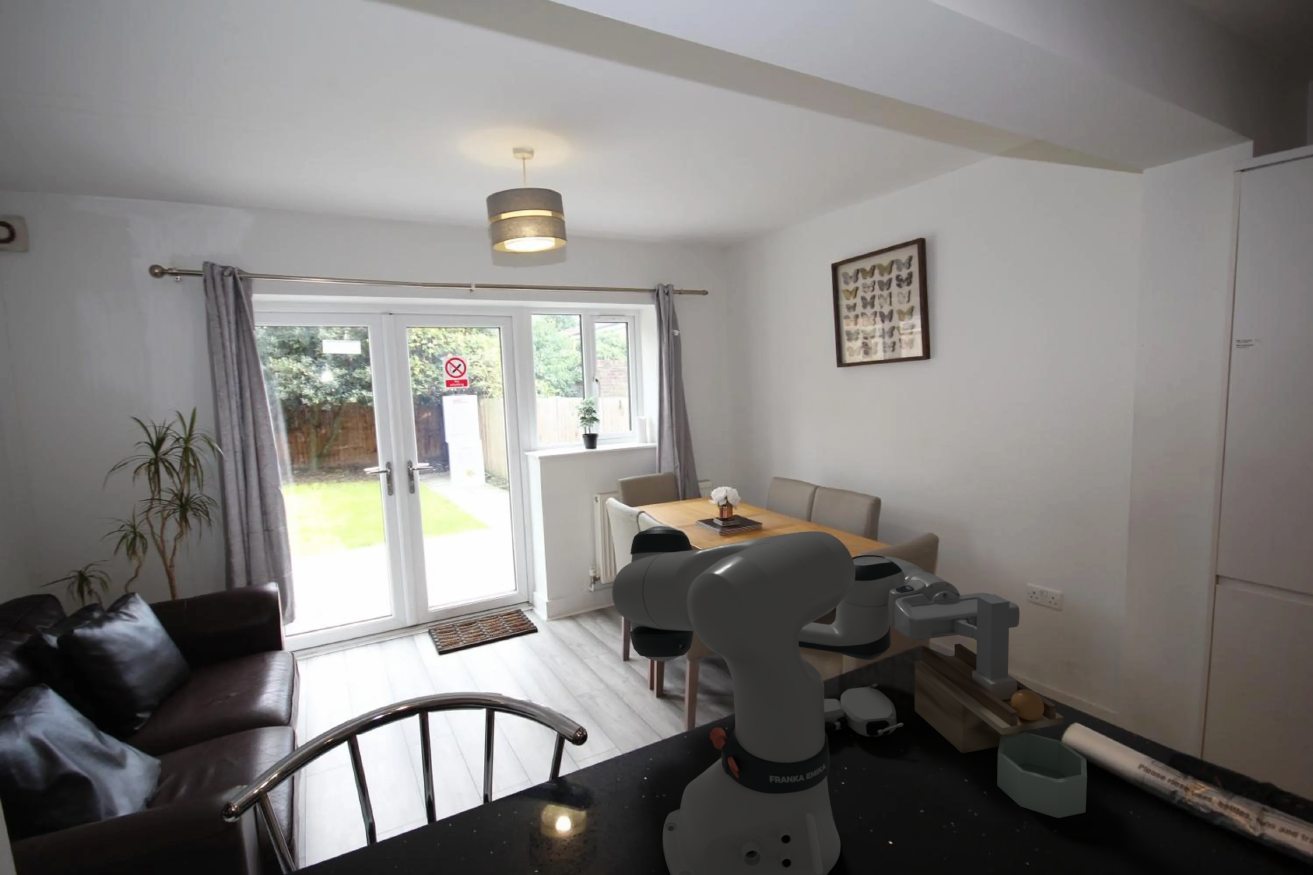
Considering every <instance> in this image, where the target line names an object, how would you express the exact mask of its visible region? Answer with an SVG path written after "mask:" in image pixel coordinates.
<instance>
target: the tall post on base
mask: <svg viewBox="0 0 1313 875" xmlns="http://www.w3.org/2000/svg"><path fill="white" fill-rule="evenodd" d="M1009 633H1010V628H1009V600H1008V601H1007V599H1006V598H1003V597H1002V596H999V595H997V594H995V593H993V594H992V595H985V596H978V597H977V640H976V654H977V659H976V671H972V680H973V681H974V682H976V683H977V684H979V685H980V686H982V687H983V688H984V689H986V690H987V691H989V692H990V693H991V694H993V695H994V696H996V697H997V698H998V699H1000V700H1006V699H1011V698H1012V696H1013V694H1014V693H1015V692H1017V681H1018V679H1016V678H1015V677H1014V676H1012V675H1010V674H1009V652H1010V651H1009V649H1010V648H1009V645H1010V644H1009V641H1010V640H1009V639H1010V638H1009V637H1010V634H1009Z"/></svg>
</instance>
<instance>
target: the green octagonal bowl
mask: <svg viewBox="0 0 1313 875" xmlns="http://www.w3.org/2000/svg"><path fill="white" fill-rule="evenodd" d="M997 749H998V750H997V779H996V780H997V781H996V782H997V784H996V785H997V787H998V788H999V789H1001V790H1002V791H1003V792H1004V793H1005V795H1007V796H1009V798H1011V799H1012V800H1013V801H1014V803H1016V804H1017V805H1019V806H1020V807H1022V808H1025V809H1028V810H1031V811H1035V812H1037V813H1041V814H1043V815H1047V816H1050V817H1053V818H1057V819H1061V818H1065V817H1066V818H1067V817H1070V816H1075V815H1080V814H1084V813H1087V812H1086V811H1087V809H1086V806H1087V782H1088V776H1087V775H1088V773H1087V772H1088V771H1087V758H1085V757H1084V756H1082V755H1081V754H1080V753H1078V752H1076V751H1075V750H1074V749H1073V748H1071V747H1070V746H1068V745H1067V744H1066V743H1064V742H1063V741H1061V740H1059V739H1055V738H1050V737H1047V736H1046V737H1045V736H1042V735H1038V734H1035V733H1031V732H1028V731H1027V732H1026V731H1023V732H1019V733H1018V734H1013V735H1007V736H1002V737H1001V738H1000V743H999V747H998V748H997Z"/></svg>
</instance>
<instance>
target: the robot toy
mask: <svg viewBox="0 0 1313 875" xmlns="http://www.w3.org/2000/svg"><path fill="white" fill-rule="evenodd" d="M875 687H878V683H873V684H872V685H867V686H864V687H855V688H848V689H846V690H845V691H843V693H842V694H841V695H840V700H838V699H837V698H824V714H825V733H826V734H827V737H828V738H829V737H831V736H833V735H834V733H835V732H836V731H838V730H842V729H845V728H848V727H849V728H851V730H853V731H854V732H855V733H857V734H859V735H861V736H864V737H874V738H875V737H877V738H878V737H881V736H887V735H890V734H891V733H893V732H894V731H895V730H896V729H897V728H901V727H903V726H904V723H902V722H900V723H898V722H897V712H896V708H895V704H894V702H892V701H891V700H890V698H889V697H888V696H886V694H884V693H883V692H882V691H880V690H879V689H878V688H877V689H876V688H875Z"/></svg>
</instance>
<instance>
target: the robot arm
mask: <svg viewBox="0 0 1313 875" xmlns="http://www.w3.org/2000/svg"><path fill="white" fill-rule="evenodd" d="M629 554H630V555H631V560H630V561H631V562H630V563H628V564H626V565H624V566H623V567H622V568H621V569H620V570H619V571H618V573H617V574H616V575H615V578H614V580H613V584H612V589H611V594H612V602H613V604H614V606H615V609H616V611H617V612H618V613H619V614H620V615H621V617H623V618H624V619H625V620H627V621H629V622H630V628H631V631H630V632H629V635H630V640H631V644H632V648H633V650H634V651H635V652H636V653H637V654H638V655H639V656H640V657H645V658H646V659H648V660H650V661H655V662H669V661H673V660H675V659H678V658H680V657H682V656H685V655H686V654H687V653H688V652H689V651H690V649H691V647H692V645H693V644H692V643H693V640H694V639H693V638H694V633H695V635H696V637H697V638H698V639H699V640H700V641H701V643H702V644H703V645H704V646H706V647H707V648H708V649H709V650H711V651H712V652H713V653H714V654H718V655H720V656H721V658H723V659H724V662H725V663H726V666H727V667H728V670H729V673H730V677H731V681H732V688H733V701H734V702H733V704H734V717H735V718H734V719H735V720H734V723H735V726H734V728H733V730H732V733H731V735H729V737H728V736H727V735H726V732H725V730H724V729H723V728H722V727H715V728H713V729H712V730H711V731H710V733H709V734H710V735H709V738H710V740H711V741H712V744H713V746H714V747H715V749H717V750H720V751H721V756H720V758H719V759H718V760H716V762H714V763H713V764H711V766H709V767H708V768H706V770H704V771H703V772H702V773H700V774H699V775H698V776H696V778H694V779H693V780H691V781H690V782H689V783H688V784H687V785H686V786H685V788H684V791H683V793H682V795H681V796H682V797H681V802H680V806H679V809H676V810H674V811H671V812H669V813H668V815H667V816H666V819H665V821H664V824H663V831H662V848H663V855H664V859H665V863H666V865H667V869H668V872H669V874H670V875H828V874H829V872H830V871H831V870H832V869H833V868H834V866H835V865H836V864H837V862H838V859H839V857H840V855H841V854H840V853H841V839H840V835H839V833H838V830H837V827H836V823H835V819H834V816H833V810H832V807H831V800H830V799H831V798H830V795H829V794H830V793H829V786H828V785H829V784H828V778H829V775H830V761H831V759H830V747H829V746H830V745H829V737H827V734H826V733H825V714H824V699H825V685H824V681H823V677H822V674H820V672H819V671H818V669H817V668H816V667H814V665H812V663H811V662H809V661H808V660H807V659H805V658H804V657H802V655H801V651H800V648H801V649H802V648H804V649H808V650H817V651H822V652H829V653H835V654H838V655H839V654H840V655H844V656H847V657H851V658H855V659H859V660H862V661H863V660H865V661H866V660H867V661H872V660H876V659H878V658H879V657H881V656H882V655H883V654H885V653H886V652H887V651H888V650H889V649H890V647H891V646H892V641H891V640H892V639H891V638H892V637H891V627H892V628H894V629H895V630H896V631H898V632H899V633H900V634H901V635H903V636H904V637H906V638H907V639H910V640H913V641H914V640H915V641H922V640H930V639H935V638H936V639H937V638H943V637H950V636H951V637H952V636H961V637H965V638H970V639H973V640H975V641H977V597H978V596H985V595H993V594H991V593H988V592H987V593H986V592H977V593H976V592H975V593H966V594H960V593H959V590H958V589H957V587H956V586H954V585H953V584H952V583H950V582H948V581H946V580H944V579H943V578H941V577H939V576H936V575H935V574H933V573H930V572H926V571H925V570H924V569H923V568H922V567H920V566H918V565H917V564H914V563H912V562H911V561H907V560H906V559H905V560H904V559H901V558H898V557H895V556H889V555H882V556H881V555H876V554H875V555H873V554H867V555H866V554H862V555H856V556H854V557H853V556H852V554H851V553H850V551H849V549H848V547H847V546H846V545H845V544H844V542H842V541H841V540H840V539H839V538H837V537H836V536H834V535H832V534H831V533H829V532H825V531H819V530H818V531H817V530H816V531H815V530H814V531H812V530H811V531H810V530H809V531H798V532H790V533H783V534H778V535H777V534H776V535H772V536H766V537H761V538H760V537H759V538H755V539H754V538H753V539H750V540H749V539H748V540H743V541H738V542H733V543H728V544H722V545H717V546H713V547H707V548H701V549H693V547H692V544H691V541H690V539H689V537H688V536H687V535H686V533H684V532H683V530H679V529H676V528H673V527H670V526H666V525H657V526H652V527H649V528H646V529H644V530H641V531H639V532H638V533H637V534H636V535H634V537H633V539H632V543H631V546H630V552H629ZM1006 600H1007V599H1006ZM1007 601H1009V600H1007ZM834 609H835V619H834V621H833V622H832V623H830V624H826V623H819V622H815V621H817V620H819V619H820V618H822V617H825V616H826V615H828V614H829V613H831V612H832V611H833V610H834ZM1020 618H1021V616H1020V608H1019V605H1018V604H1016V603H1014V602H1012V601H1009V629H1010V628H1011V629H1012V628H1017V627H1018V626H1019V624H1020Z"/></svg>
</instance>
